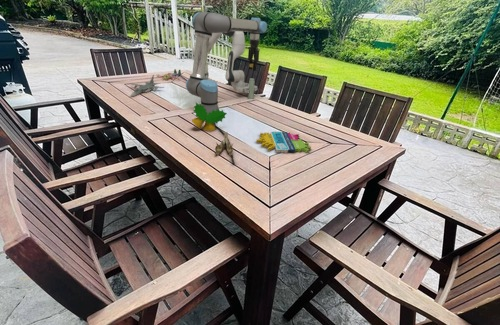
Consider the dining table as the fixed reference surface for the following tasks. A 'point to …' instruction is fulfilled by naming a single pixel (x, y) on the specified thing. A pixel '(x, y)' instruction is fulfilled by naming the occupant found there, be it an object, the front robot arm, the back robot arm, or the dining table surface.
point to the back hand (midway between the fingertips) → (251, 91)
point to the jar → (251, 88)
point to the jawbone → (224, 145)
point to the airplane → (145, 87)
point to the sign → (283, 142)
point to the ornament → (207, 117)
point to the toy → (171, 75)
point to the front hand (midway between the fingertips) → (252, 69)
